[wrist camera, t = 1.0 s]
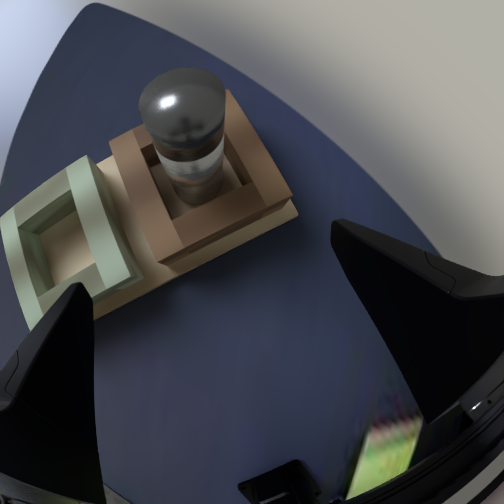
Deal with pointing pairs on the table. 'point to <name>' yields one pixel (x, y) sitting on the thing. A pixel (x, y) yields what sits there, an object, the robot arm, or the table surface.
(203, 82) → the shiny grey rounded piece
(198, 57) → the table surface
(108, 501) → the coffee box
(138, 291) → the wooden desk organizer
